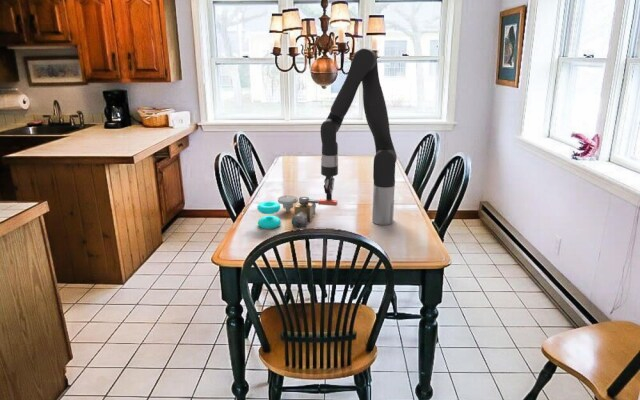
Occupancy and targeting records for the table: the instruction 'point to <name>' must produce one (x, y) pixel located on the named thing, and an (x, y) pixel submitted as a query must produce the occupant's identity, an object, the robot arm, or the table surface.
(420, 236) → the table surface
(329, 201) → the lever
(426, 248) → the table surface
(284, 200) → the showerhead
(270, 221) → the donuts
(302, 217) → the valve body
